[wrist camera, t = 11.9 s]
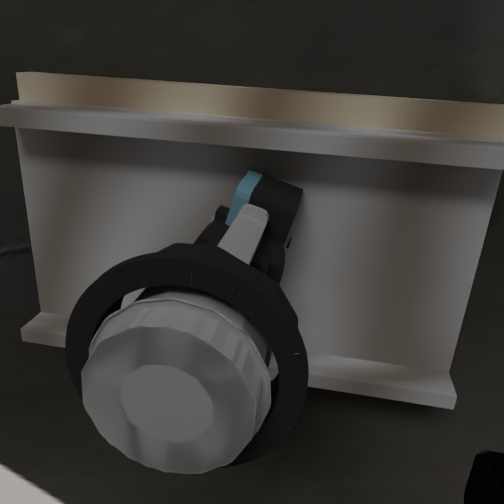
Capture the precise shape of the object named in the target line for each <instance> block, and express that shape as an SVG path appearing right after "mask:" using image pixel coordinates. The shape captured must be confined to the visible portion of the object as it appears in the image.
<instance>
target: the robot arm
mask: <svg viewBox="0 0 504 504" xmlns="http://www.w3.org/2000/svg"><path fill="white" fill-rule="evenodd" d="M464 504H504V453H499V452H493V451H487V450H481V451H479V452H478V453H477V455H476V456H475V459H474V462H473V466H472V469H471V472H470V475H469V478H468V482H467V485H466V488H465V493H464Z"/></svg>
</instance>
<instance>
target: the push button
mask: <svg viewBox="0 0 504 504" xmlns="http://www.w3.org/2000/svg"><path fill="white" fill-rule="evenodd" d="M302 193H303V189H301V188H299V187H296V186H293V185H291V184H288V183H285V182H282V181H280V180H277V179H274V178H272V177H269V176H266V175H264V174H260V173H257V172H255V171H252V170H249V171H248V172H247V175H246V176H245V177H244V178H243V179H242V181H241V182H240V183H239V185H238V187H237V189H236V192H235V195H234V198H233V201H232V204H231V207H230V208H228V207H225V206H223V205H220V206H219V207H218V208H217V210H216V212H215V214H214V216H213V217H212V219H211V220H210V223H209V224H208V225H207V227H206V228H205V229H204V230H203V231H202V233H201V234H200V235H199V236H198V238H197V239H196V240H195V242H194V243H193V244H188V243H174V244H172V245H170V246H168V247H166V248H164V249H162V250H160V251H158V252H155V253H148V254H143V255H140V256H136V257H133V258H130V259H127V260H125V261H123V262H121V263H119V264H117V265H115V266H113V267H112V268H110V269H109V270H107V271H106V272H104V273H103V274H102V275H101V276H100V277H99V278H98V279H97V280H95V281H94V282H93V283H92V284H91V285H90V286H89V287H88V288H87V289H86V290H85V291H84V293H83V294H82V295H81V296H80V298H79V299H78V301H77V303H76V304H75V306H74V308H73V310H72V313H71V315H70V318H69V321H68V325H67V330H66V339H65V349H66V359H67V364H68V368H69V371H70V375H71V378H72V380H73V382H74V385H75V387H76V389H77V391H78V393H79V395H80V396H81V398H82V400H83V404H84V406H85V410H86V411H87V413H88V414H89V415H90V417H91V419H92V420H93V422H94V424H95V426H96V427H97V429H98V431H99V433H100V434H101V435H102V436H103V437H104V438H106V440H107V441H108V442H109V443H110V444H111V445H113V446H114V447H116V448H118V449H119V450H120V451H121V452H122V453H124V454H125V455H126V456H127V457H128V458H130V459H133V460H135V461H138V462H140V463H142V464H143V465H145V466H147V467H152V468H156V469H158V470H161V471H163V472H177V473H184V474H193V473H198V474H201V473H204V472H206V471H209V470H212V469H215V468H223V467H229V466H235V465H239V464H243V463H246V462H249V461H252V460H254V459H257V458H259V457H261V456H263V455H265V454H266V453H268V452H269V451H271V450H273V449H274V448H275V447H276V446H278V445H279V444H280V443H281V442H282V441H283V440H284V439H285V438H286V437H287V436H288V435H289V434H290V433H291V431H292V430H293V428H294V427H295V426H296V424H297V422H298V420H299V418H300V416H301V414H302V411H303V409H304V406H305V401H306V397H307V388H308V378H309V366H308V358H307V352H306V348H305V345H304V341H303V339H302V336H301V334H300V331H299V329H298V317H297V314H296V313H295V311H294V309H293V308H292V306H291V304H290V302H289V301H288V299H287V297H286V295H285V294H284V292H283V290H282V288H281V287H280V282H281V278H282V275H283V271H284V267H285V259H286V257H287V254H288V252H289V249H290V246H291V242H292V238H293V236H291V237H290V239H289V242H288V245H287V247H284V243H285V241H286V238H287V236H288V233H289V231H290V228H291V226H292V223H293V220H294V218H295V215H296V213H297V210H298V207H299V203H300V200H301V196H302ZM142 288H145V289H144V290H143V291H142V293H141V294H140V295H139V296H138V297H137V299H136V300H135V301H134V302H133V303H131V304H129V305H127V306H125V307H124V308H122V309H121V305H122V301H123V298H124V296H125V295H127V294H129V293H131V292H133V291H136V290H139V289H142ZM272 351H273V353H274V356H275V359H276V362H277V367H278V374H277V375H276V377H275V378H274V379H273V381H272V382H271V383H270V374H269V371H268V368H269V364H270V360H271V355H272Z"/></svg>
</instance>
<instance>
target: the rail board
mask: <svg viewBox="0 0 504 504" xmlns="http://www.w3.org/2000/svg"><path fill="white" fill-rule="evenodd" d="M16 76H17V84H18V91H19V99H20V100H14V101H12V104H5V105H0V126H9V127H15V130H16V137H17V144H18V151H19V159H20V166H21V173H22V180H23V187H24V194H25V201H26V209H27V216H28V223H29V230H30V237H31V244H32V251H33V259H34V266H35V273H36V280H37V287H38V294H39V302H40V309H41V312H40V313H39V314H38V315H37V316H36V317H34V318H33V319H32V320H31V321H30V322H28V323H27V324H26V325H25V326H24V327H23V328H21V335H22V341H26V342H32V343H39V344H45V345H51V346H58V347H64V348H65V339H66V330H67V325H68V321H69V318H70V315H71V313H72V310H73V308H74V306H75V304H76V303H77V301H78V299H79V298H80V296H81V295H82V294H83V293H84V291H85V290H86V289H87V288H88V287H89V286H90V285H91V284H92V283H93V282H94V281H95V280H97V279H98V278H99V277H100V276H101V275H102V274H103V273H104V272H106V271H107V270H109V269H110V268H112V267H113V266H115V265H117V264H119V263H121V262H123V261H125V260H127V259H130V258H133V257H136V256H140V255H143V254H148V253H155V252H158V251H160V250H162V249H164V248H166V247H168V246H170V245H172V244H174V243H188V244H193V243H194V242H195V240H196V239H197V238H198V236H199V235H200V234H201V233H202V231H203V230H204V229H205V228H206V227H207V225H208V224H209V223H210V220H211V219H212V217H213V216H214V214H215V212H216V210H217V208H218V207H219V206H220V205H223V206H225V207H228V208H230V207H231V204H232V201H233V198H234V195H235V192H236V189H237V187H238V185H239V183H240V182H241V181H242V179H243V178H244V177H245V176H246V175H247V172H248V171H249V170H252V171H255V172H257V173H260V174H264V175H266V176H269V177H272V178H274V179H277V180H280V181H282V182H285V183H288V184H291V185H293V186H296V187H299V188H301V189H303V193H302V196H301V200H300V203H299V207H298V210H297V213H296V215H295V218H294V220H293V223H292V226H291V228H290V231H289V233H288V236H287V238H286V241H285V243H284V247H287V245H288V242H289V239H290V237H291V236H293V238H292V242H291V246H290V249H289V252H288V254H287V257H286V259H285V267H284V271H283V275H282V278H281V282H280V287H281V288H282V290H283V292H284V294H285V295H286V297H287V299H288V301H289V302H290V304H291V306H292V308H293V309H294V311H295V313H296V314H297V317H298V329H299V331H300V334H301V336H302V339H303V341H304V345H305V348H306V352H307V358H308V366H309V378H308V386H309V387H315V388H321V389H328V390H334V391H340V392H347V393H353V394H359V395H365V396H372V397H378V398H384V399H391V400H397V401H403V402H409V403H416V404H422V405H428V406H435V407H441V408H447V409H454V406H455V402H456V399H457V395H456V392H455V389H454V387H453V384H452V381H451V378H450V375H449V370H450V366H451V363H452V359H453V355H454V351H455V348H456V344H457V340H458V336H459V332H460V329H461V325H462V321H463V317H464V314H465V310H466V306H467V302H468V299H469V295H470V291H471V287H472V283H473V280H474V276H475V272H476V268H477V265H478V261H479V257H480V253H481V250H482V246H483V242H484V238H485V234H486V231H487V227H488V223H489V219H490V216H491V212H492V208H493V204H494V201H495V197H496V193H497V189H498V185H499V182H500V178H501V174H502V170H504V104H490V103H475V102H461V101H446V100H432V99H417V98H403V97H388V96H374V95H359V94H345V93H330V92H316V91H301V90H287V89H272V88H258V87H243V86H229V85H214V84H200V83H185V82H171V81H156V80H142V79H127V78H113V77H98V76H84V75H69V74H55V73H40V72H18V73H16ZM144 289H145V288H142V289H139V290H136V291H133V292H131V293H129V294H127V295H125V296H124V298H123V301H122V305H121V309H122V308H124V307H125V306H127V305H129V304H131V303H133V302H134V301H135V300H136V299H137V297H138V296H139V295H140V294H141V293H142V291H143V290H144ZM268 371H269V374H270V380H271V381H273V379H274V378H275V377H276V375H277V374H278V367H277V362H276V359H275V356H274V353H273V351H272V355H271V360H270V364H269V368H268Z"/></svg>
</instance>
